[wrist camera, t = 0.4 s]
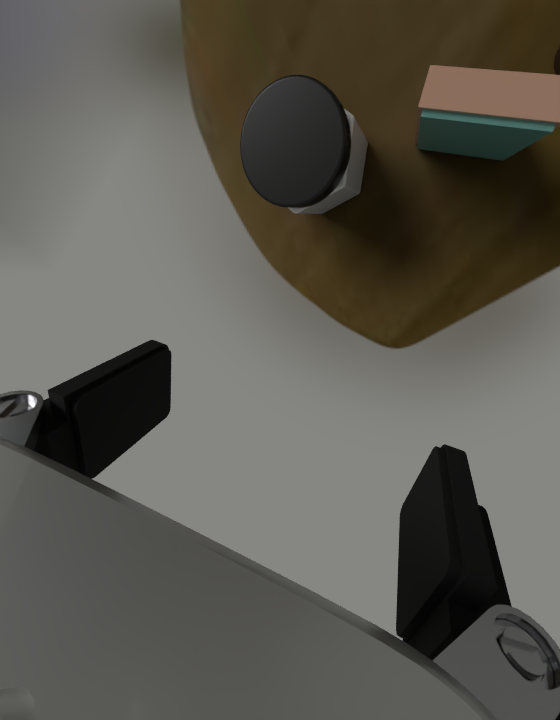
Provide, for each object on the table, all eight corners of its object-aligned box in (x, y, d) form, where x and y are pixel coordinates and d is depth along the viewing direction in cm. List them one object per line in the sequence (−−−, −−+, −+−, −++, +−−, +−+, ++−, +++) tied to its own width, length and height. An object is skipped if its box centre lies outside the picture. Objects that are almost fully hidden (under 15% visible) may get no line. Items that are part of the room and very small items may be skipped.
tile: (423, 117, 29) (430, 65, 19) (519, 129, 27) (586, 77, 17) (413, 148, 30) (415, 114, 20) (505, 161, 28) (560, 131, 18)
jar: (387, 153, 31) (377, 122, 21) (336, 228, 35) (306, 232, 25) (315, 98, 31) (270, 41, 21) (273, 178, 36) (218, 163, 25)
